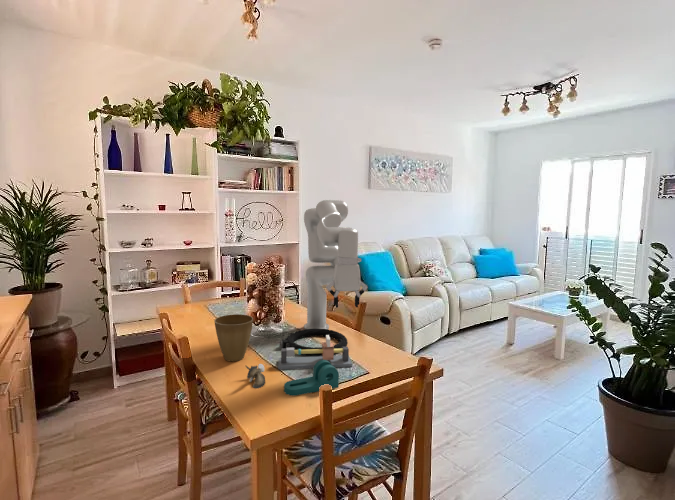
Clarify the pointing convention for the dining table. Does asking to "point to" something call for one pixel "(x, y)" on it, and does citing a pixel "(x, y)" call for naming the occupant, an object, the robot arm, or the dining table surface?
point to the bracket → (314, 380)
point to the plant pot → (233, 335)
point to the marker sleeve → (328, 349)
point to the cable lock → (313, 332)
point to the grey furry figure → (256, 375)
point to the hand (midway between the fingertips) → (346, 306)
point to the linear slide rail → (311, 358)
